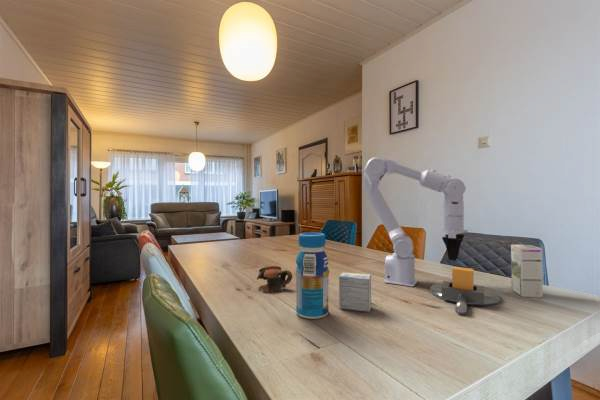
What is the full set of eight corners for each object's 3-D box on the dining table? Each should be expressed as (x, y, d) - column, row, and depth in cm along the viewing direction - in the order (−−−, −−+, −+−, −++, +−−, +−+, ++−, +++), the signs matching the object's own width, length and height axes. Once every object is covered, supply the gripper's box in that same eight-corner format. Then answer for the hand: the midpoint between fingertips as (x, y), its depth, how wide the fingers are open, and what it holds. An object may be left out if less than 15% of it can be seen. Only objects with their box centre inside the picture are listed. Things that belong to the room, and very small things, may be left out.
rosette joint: (421, 308, 75) (421, 285, 75) (434, 282, 98) (434, 265, 98) (505, 323, 66) (505, 297, 66) (498, 291, 89) (498, 271, 88)
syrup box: (543, 298, 82) (543, 247, 82) (520, 296, 83) (520, 247, 83) (532, 291, 88) (532, 244, 88) (510, 290, 89) (510, 244, 89)
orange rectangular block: (452, 297, 80) (452, 268, 80) (453, 294, 83) (453, 266, 83) (473, 300, 78) (473, 271, 78) (473, 297, 80) (473, 268, 80)
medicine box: (371, 306, 77) (371, 274, 77) (369, 312, 73) (369, 278, 72) (342, 303, 79) (342, 271, 79) (339, 309, 75) (338, 276, 75)
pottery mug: (253, 294, 88) (251, 268, 92) (265, 299, 96) (263, 274, 100) (290, 287, 86) (286, 260, 90) (299, 292, 94) (296, 267, 98)
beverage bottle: (289, 312, 73) (288, 233, 73) (314, 304, 78) (314, 231, 78) (310, 323, 66) (309, 237, 66) (336, 314, 72) (335, 234, 72)
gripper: (467, 217, 85) (467, 263, 85) (468, 215, 97) (468, 255, 97) (440, 217, 88) (440, 261, 88) (445, 214, 101) (445, 253, 101)
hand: (453, 257), depth 93 cm, fingers open, 7 cm apart
